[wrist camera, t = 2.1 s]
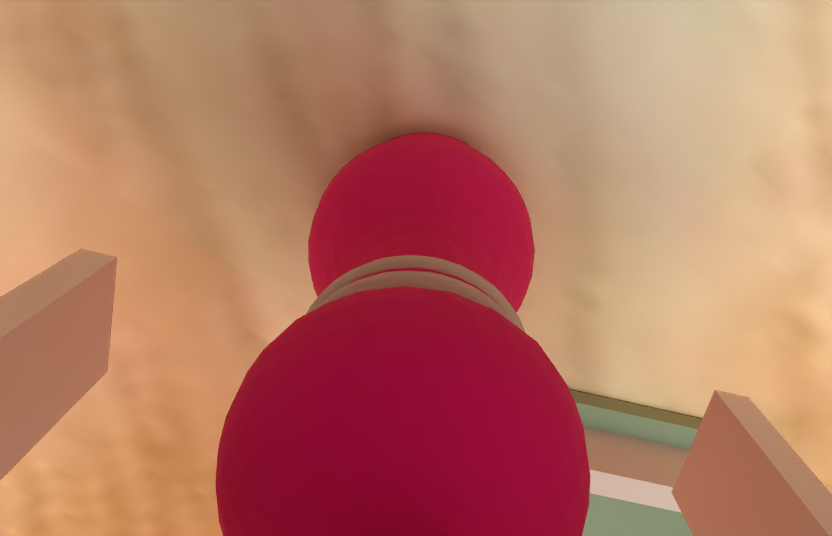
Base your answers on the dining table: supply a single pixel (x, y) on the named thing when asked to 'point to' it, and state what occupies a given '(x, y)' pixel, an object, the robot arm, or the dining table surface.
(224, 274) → the dining table surface
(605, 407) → the deck socket
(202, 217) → the dining table surface
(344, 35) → the dining table surface
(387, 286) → the pepper mill
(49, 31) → the dining table surface
